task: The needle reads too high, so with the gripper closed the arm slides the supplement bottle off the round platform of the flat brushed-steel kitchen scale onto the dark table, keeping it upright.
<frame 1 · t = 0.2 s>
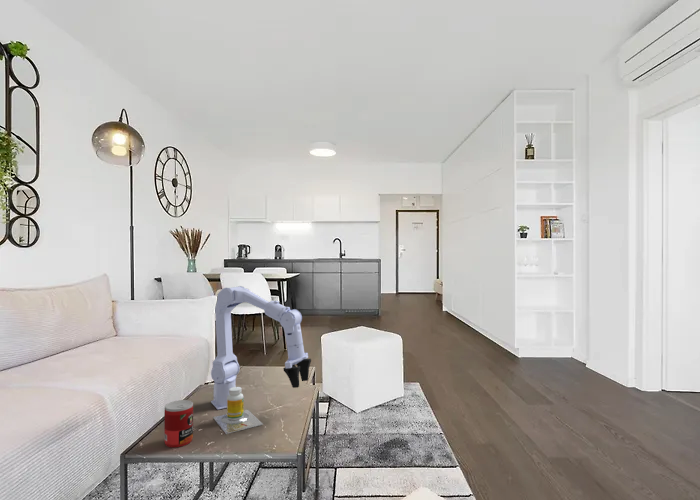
hand: (300, 383, 133), 11 cm above the table, tool pointing down, fingers open, 7 cm apart
supplement bottle: (235, 418, 130), resting on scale
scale: (237, 421, 128), on the table
canned food: (178, 442, 114), on the table
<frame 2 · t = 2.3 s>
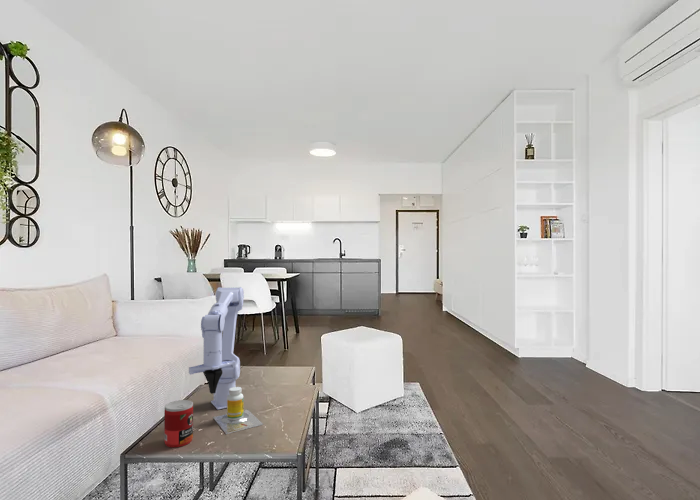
hand: (212, 392, 126), 10 cm above the table, tool pointing down, fingers closed
nothing on the table moved.
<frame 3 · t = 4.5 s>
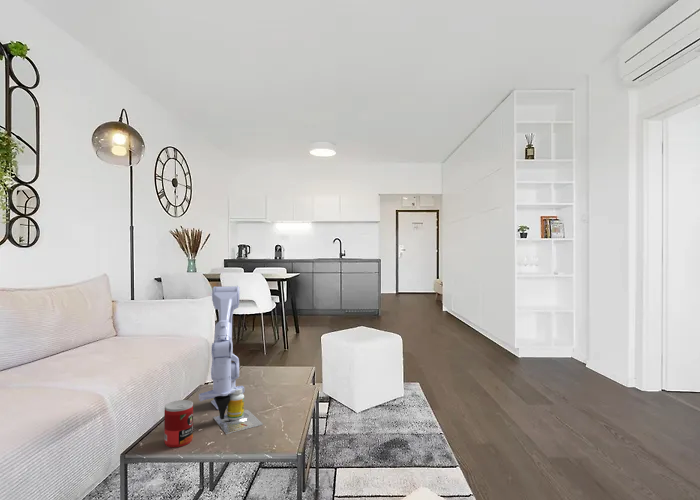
hand: (221, 418, 128), 1 cm above the table, tool pointing down, fingers closed
supplement bottle: (235, 417, 130), resting on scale, touching gripper
everything else where it was.
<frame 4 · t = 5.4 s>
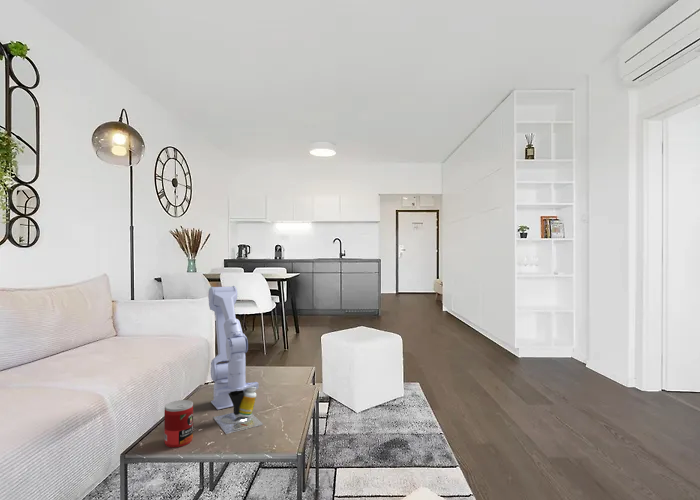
hand: (236, 413, 129), 2 cm above the table, tool pointing down, fingers closed, pressing on supplement bottle
supplement bottle: (243, 415, 131), point 1 cm above the table, touching gripper, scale
everything else where it was.
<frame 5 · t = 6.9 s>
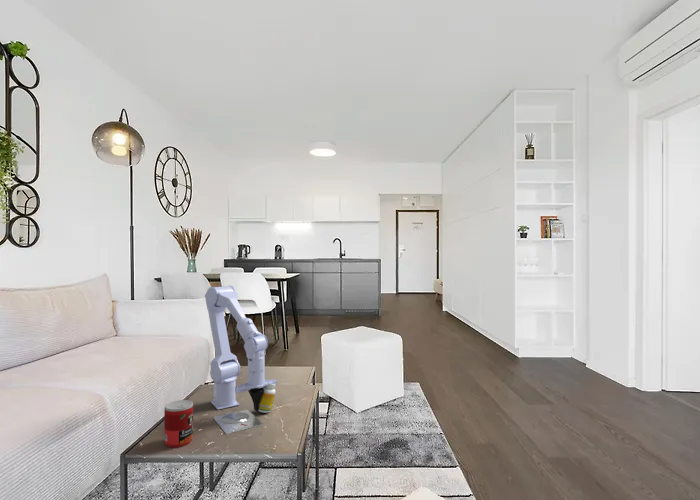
hand: (256, 409, 134), 1 cm above the table, tool pointing down, fingers closed, pressing on supplement bottle
supplement bottle: (263, 411, 136), on the table, touching gripper
everything else where it was.
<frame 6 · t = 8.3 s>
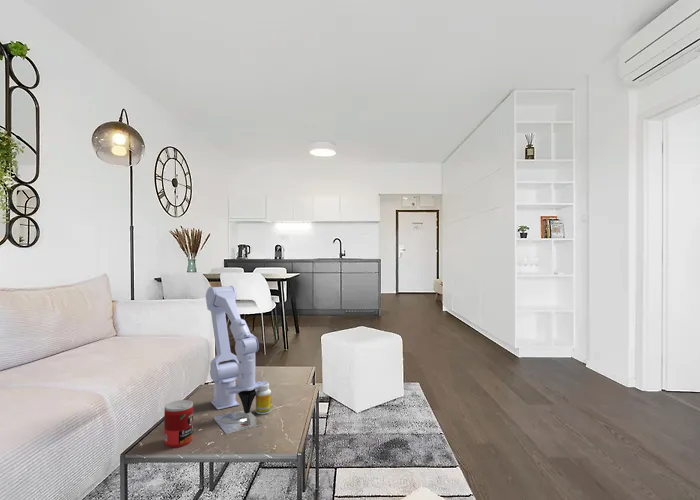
hand: (246, 412, 132), 1 cm above the table, tool pointing down, fingers closed
supplement bottle: (263, 412, 136), on the table
everything else where it was.
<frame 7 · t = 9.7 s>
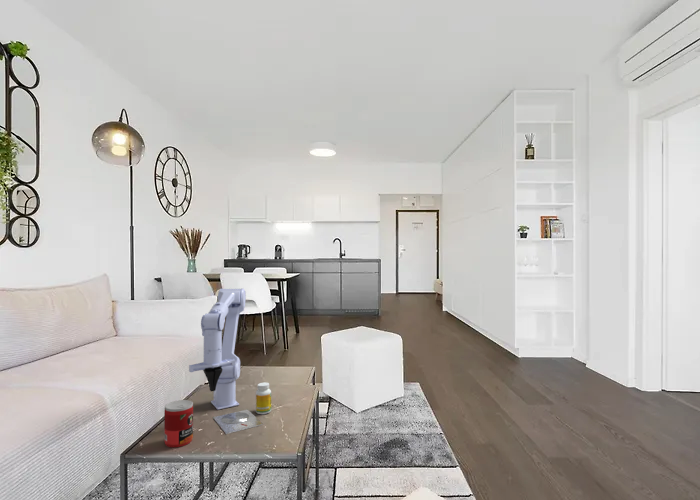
hand: (212, 390, 128), 10 cm above the table, tool pointing down, fingers closed
nothing on the table moved.
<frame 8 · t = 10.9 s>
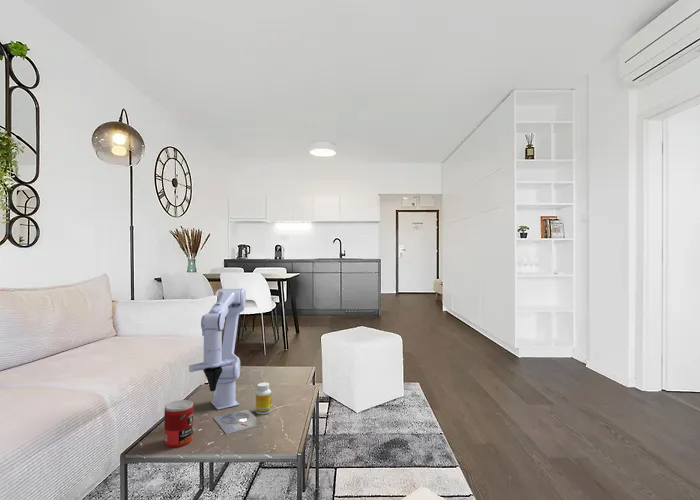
hand: (212, 390, 128), 10 cm above the table, tool pointing down, fingers closed
nothing on the table moved.
at the end: supplement bottle inside the target area (2.6 cm from its centre), on the table; supplement bottle tilted 1°; supplement bottle touching table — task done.
